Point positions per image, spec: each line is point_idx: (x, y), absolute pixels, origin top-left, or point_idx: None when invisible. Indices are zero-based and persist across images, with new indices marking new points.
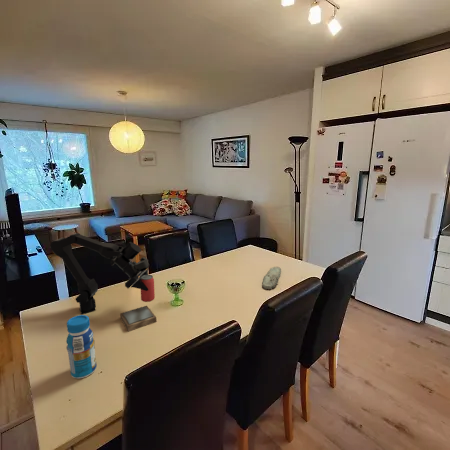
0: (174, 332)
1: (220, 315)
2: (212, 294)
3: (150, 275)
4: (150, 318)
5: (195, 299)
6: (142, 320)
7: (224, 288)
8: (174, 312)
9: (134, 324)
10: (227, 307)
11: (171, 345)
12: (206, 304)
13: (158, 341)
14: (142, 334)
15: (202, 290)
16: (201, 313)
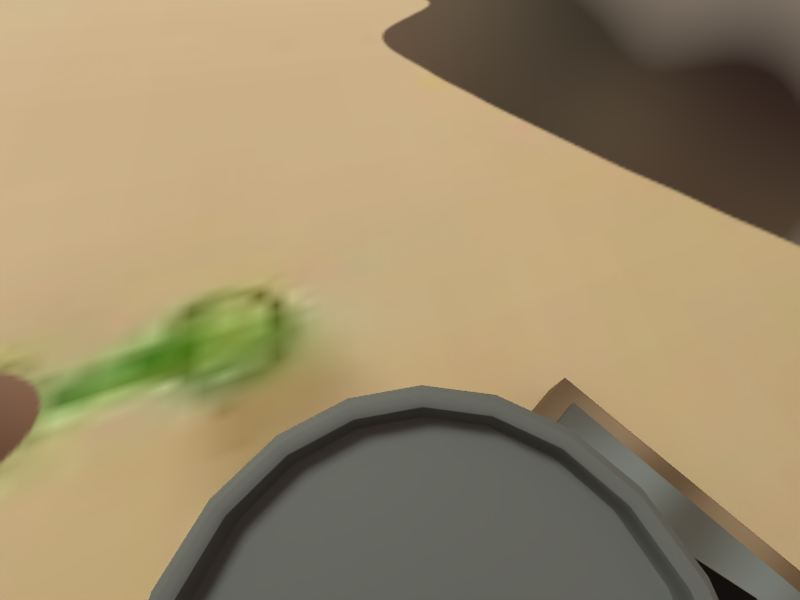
0: (612, 234)
1: (379, 79)
2: (119, 146)
3: (186, 596)
4: (604, 419)
5: (185, 224)
6: (664, 483)
7: (40, 102)
8: (388, 307)
9: (754, 536)
10: (292, 65)
11: (724, 214)
12: (260, 152)
13: (736, 289)
14: (736, 427)
15: (35, 212)
16: (373, 156)
